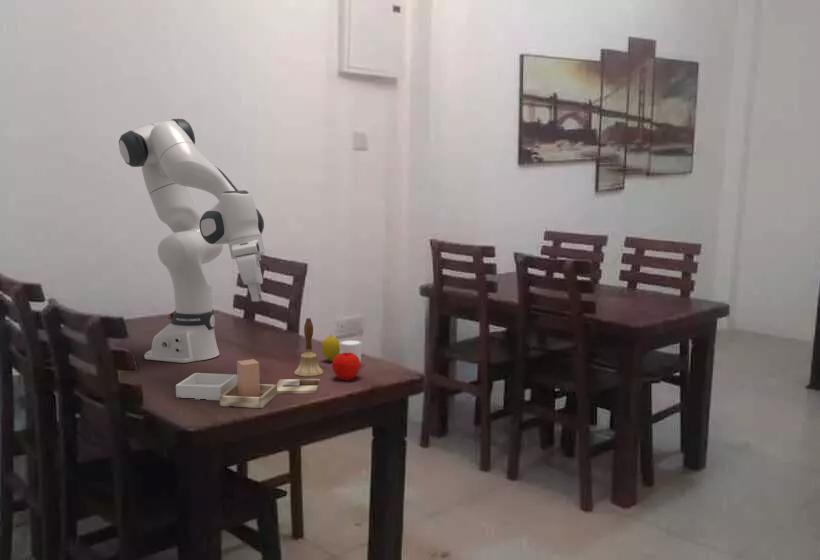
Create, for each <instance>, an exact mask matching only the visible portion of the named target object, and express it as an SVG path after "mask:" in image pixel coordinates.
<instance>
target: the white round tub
mask: <svg viewBox="0 0 820 560" xmlns="http://www.w3.org/2000/svg"><path fill="white" fill-rule="evenodd" d="M339 348H340V353H353V354H355V355H356V356H357V357H358V358H359V360H360V366H361V365H362V351H363V342H362V341H361V340H355V339H350V340H348V339H347V340H346V339H345V340H342V341H339ZM340 353H339V354H340Z"/></svg>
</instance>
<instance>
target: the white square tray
mask: <svg viewBox="0 0 820 560" xmlns="http://www.w3.org/2000/svg"><path fill="white" fill-rule="evenodd" d="M236 383H238V380H237V374H233V373H232V374H231V373H230V374H229V373H227V374H226V373H210V372H209V373H208V372H207V373H206V372H205V373H204V372H202V373H201V372H194V373H192V374H191V375H189V376H188V377H186V378H185V379H183V380H181V381H180V382H179V383H177V384H176V385H175V395H176V397H181V398H195V399H194V400H200V399H206V400H205V401H220V396H221V395H222V394H223V393H225V392H226V391H227V390H228V389H230V388H231V387H232V386H234V385H235V384H236Z"/></svg>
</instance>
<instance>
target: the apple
mask: <svg viewBox="0 0 820 560" xmlns="http://www.w3.org/2000/svg"><path fill="white" fill-rule="evenodd" d="M331 362H332V364H331V368H332V371H333V372H334V374H335V375H336V377H338V379H340V380H343V381H349V380H353V379H354V378H355V377H356V376H357V375H358V373H359V371H360V369H361V365H360V360H359V358H358V357H357V356H356V355H355V354H353V353H339V354H338V355H337V356H336V357H335V358H334V359H333V361H331Z"/></svg>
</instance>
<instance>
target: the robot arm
mask: <svg viewBox="0 0 820 560" xmlns="http://www.w3.org/2000/svg"><path fill="white" fill-rule="evenodd" d="M195 143H196V137H195V133H194V130H193V128H192V126H191V124H190V123H189V122H188V121H187V120H186V119H183V118H172V119H171V120H164V121H157V122H153V123H150V124H149V125H145V126H142V127H139V128H137V129H134V130H128V131H127V132H125V133H123V134H121V135H120V137H119V139H118V150H119V153H120V155H121V158H122V159H123V161H124V162H125V164H127V165H128V166H130V167H131V168H132V167H133V168H138V167H141V172H142V176H143V181H144V185H145V187H146V190H147V192H148V195H149V198H150V200H151V203H152V206H153V208H154V210H155V212H156V215H157V217H158V219H159V220H160V221H161V222H162V223H164V224H166V225H167V227H168V228H169V229H171V231H172V232H173V233H171V234H169V235H167V236H166V237H164V238H163V239H162V240H161V241H160V242H159V243H158V246H157V256H158V259H159V260H160V262H161V264H163V266H165V267H166V269H167V271H168V273H169V276H170V278H171V281H172V284H173V285H172V286H173V292H174V307H175V308H174V309H175V310H174V311H173V312H171V313H170V314H168V315H167V320H170V323H169V324H167V325H166V326H165V327H164V328H163V329H161V330H160V331H159V332H158V333H157V334H156V335H155V336H154V337H153V339H152V342H151V349H150V350H148V351H146V352H145V353H144V356H143V357H144V359H145V360H148V361H149V360H150V361H151V360H152V361H161V362H169V363H181V364H185V363H187V364H188V363H191V362H197V361H205V360H209V359H213V358H216V357H218V356H220V354H221V353H220V351H219V347H218V344H217V339H216V334H215V324H216V323H215V322H216V319H215V309H213V290H212V289H213V288H212V284H211V283H210V281H208V279H206V276H205V272H204V270H203V265H204V264H208V263H210V262H212V261H213V260H215V259H216V258H218V257H219V256H220V255H221V254H222V251H223V246H224V245H228V248H229V252H230V258H231V260H235V261H236V265H237V269H238V272H239V276H240V279H241V281H242V284H244V285H247V288H248V291H249V295H250V300H251V302H254V303H255V302H261V301H263V298H262V297H263V296H262V287H261V285H262V284H263V283H264V279H263V274H262V271H261V270H262V269H261V266H260V265H261V264H260V261H262V258H261V257H262V256H261V255H264V254H265V253H266V252H265V246H264V242H263V235H262V234H263V232H264V229H265V220H264V217H263V216H262V213H260V211H259V209H257V208H256V204H255V201H254V199H253V196H252V195H251V192H250V191H247V190H238V188H237V187H236V186H235V185H234V184H233V182H232V180H230V179H229V177H228V176H227V175H226V174H225V173H224V172H223V171H222V170H221V169H220V168H219V167H217V166H216V165H214V164H213V162H211V161H210V160H208V159H207V158H206V157H205V156H204V155H203V154H202V153H201V152H200V150H199V149H198V148H197V146H196V144H195ZM188 188H193V189H198V190H201V191H203V192H207V193H209V194H211V195H212V196H214V197H215V198H216V199H217V200H218V202H217V203H215V205H214V206H213V207H212V208H210V209H209V210H207V211H205V212H203V214H202V215H201V214H200V213H199V210H198V209H197V207H196V205H195V203H194V201H193V200H192V197H191V195H190V192H189V190H188Z"/></svg>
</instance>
